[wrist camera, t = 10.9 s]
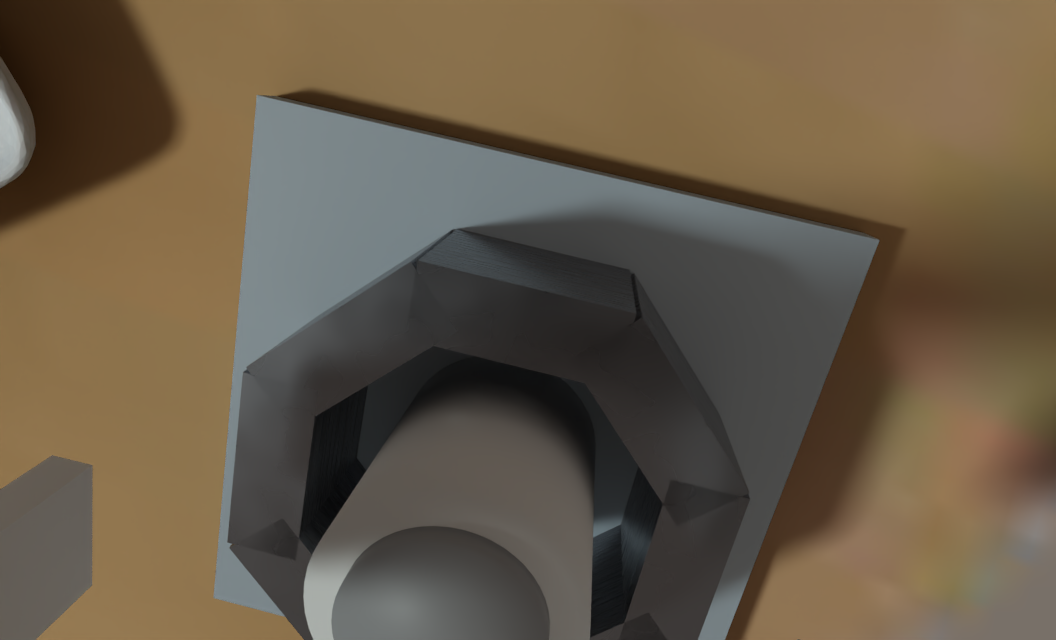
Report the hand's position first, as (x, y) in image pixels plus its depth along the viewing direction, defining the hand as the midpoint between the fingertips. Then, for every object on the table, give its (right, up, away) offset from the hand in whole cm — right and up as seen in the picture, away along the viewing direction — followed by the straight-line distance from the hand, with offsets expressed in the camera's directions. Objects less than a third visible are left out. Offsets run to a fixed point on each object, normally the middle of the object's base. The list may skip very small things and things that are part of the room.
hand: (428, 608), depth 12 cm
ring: (+1, +2, +7) cm, 7 cm away
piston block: (+1, +2, +8) cm, 8 cm away
